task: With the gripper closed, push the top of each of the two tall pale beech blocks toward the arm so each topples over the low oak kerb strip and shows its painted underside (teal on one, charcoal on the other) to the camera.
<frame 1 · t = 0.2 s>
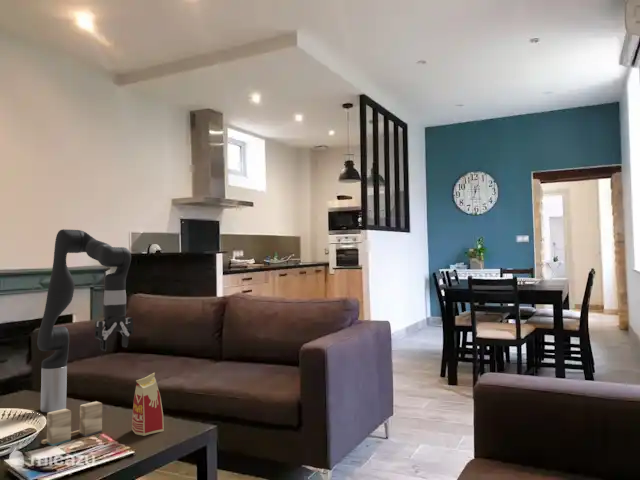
hand: (114, 348, 178), 29 cm above the table, fingers open, 8 cm apart
kerb strip: (71, 435, 173), on the table
milk carton: (146, 431, 177), on the table
charcoal-foot block: (90, 433, 175), on the table
teal-foot block: (58, 442, 167), on the table
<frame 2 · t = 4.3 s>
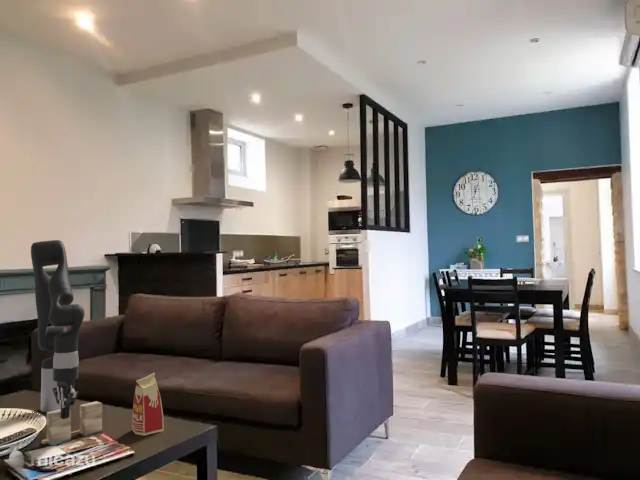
hand: (65, 418, 165), 8 cm above the table, fingers closed
teal-foot block: (58, 441, 167), on the table, touching gripper
everything else where it was.
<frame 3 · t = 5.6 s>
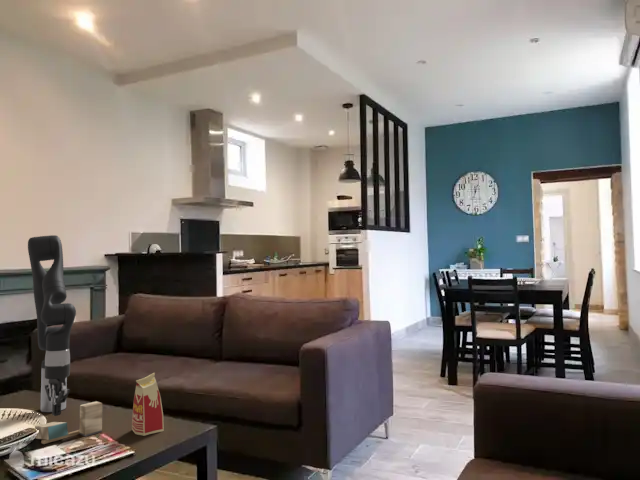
hand: (56, 415, 168), 8 cm above the table, fingers closed
teal-foot block: (58, 431, 167), point 4 cm above the table, tilted 99°, touching kerb strip
everything else where it was.
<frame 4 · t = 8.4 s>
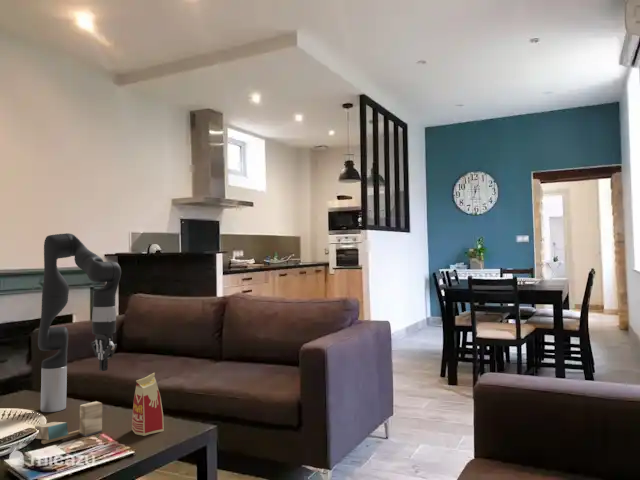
hand: (103, 370, 171), 23 cm above the table, fingers closed
nothing on the table moved.
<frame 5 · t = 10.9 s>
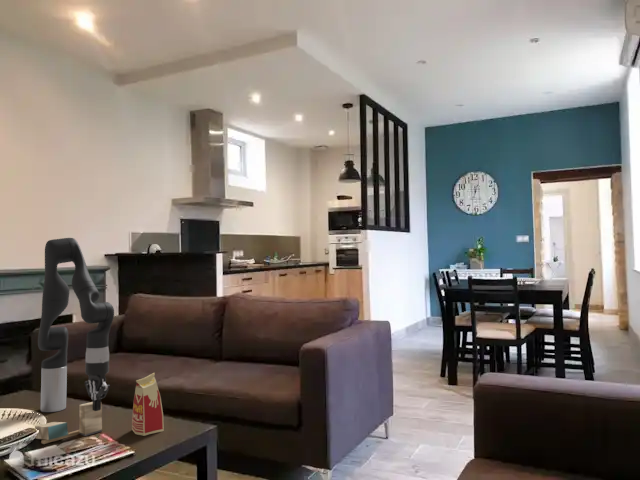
hand: (96, 410, 174), 8 cm above the table, fingers closed
charcoal-foot block: (90, 432, 175), on the table, touching gripper
everything else where it was.
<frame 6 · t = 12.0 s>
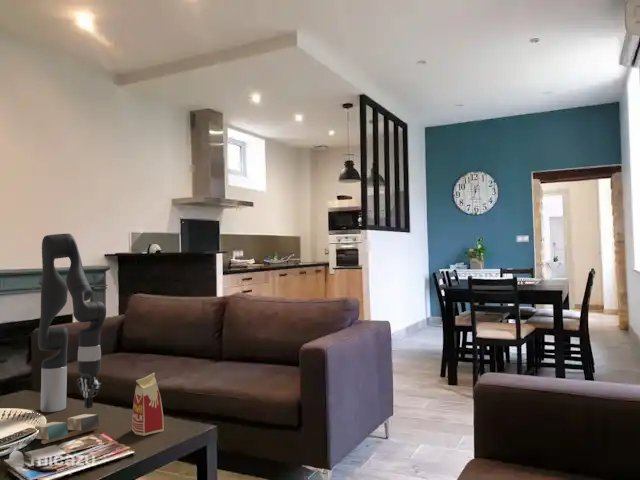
hand: (88, 407, 177), 8 cm above the table, fingers closed
charcoal-foot block: (90, 422, 176), point 4 cm above the table, tilted 99°, touching kerb strip
everything else where it was.
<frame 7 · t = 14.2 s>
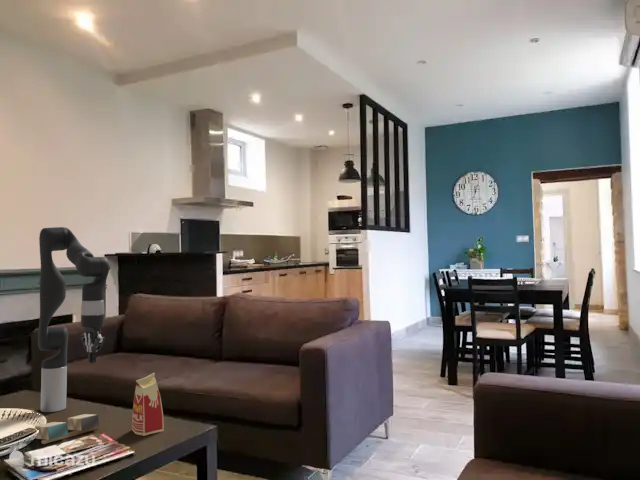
hand: (91, 362, 176), 24 cm above the table, fingers closed
nothing on the table moved.
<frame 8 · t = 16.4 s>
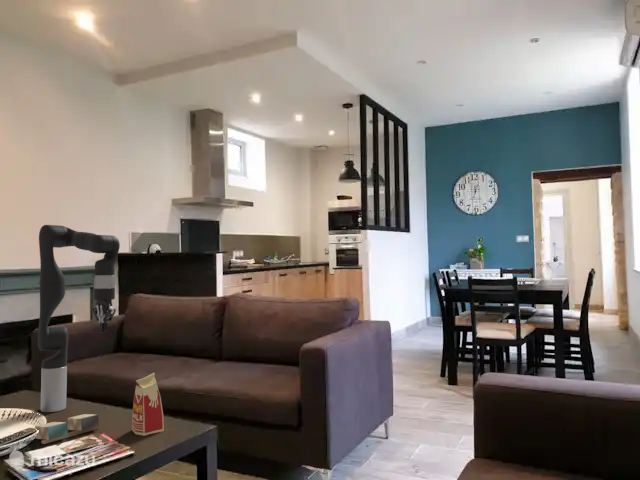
hand: (103, 332, 191), 33 cm above the table, fingers closed
nothing on the table moved.
at the end: teal-foot block tilted 99°; charcoal-foot block tilted 99°; teal-foot block inside the target area (3.2 cm from its centre), point 3.5 cm above the table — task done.
